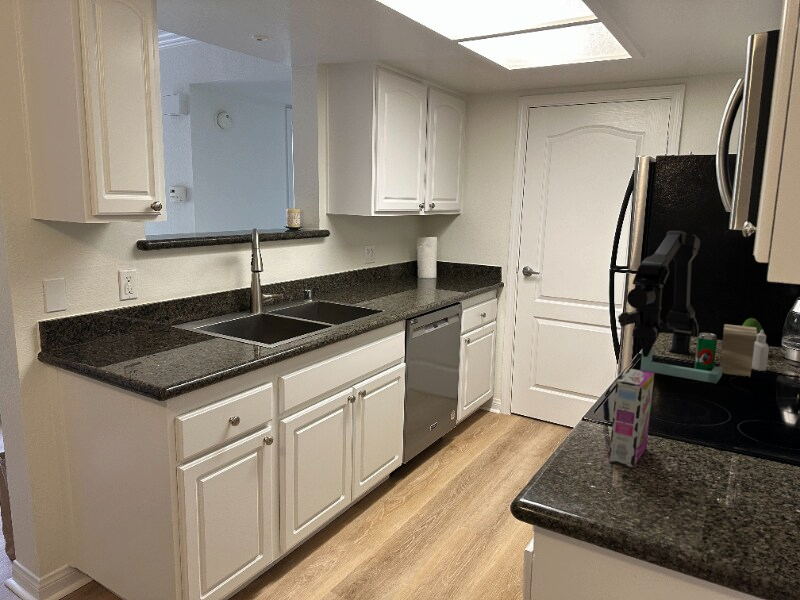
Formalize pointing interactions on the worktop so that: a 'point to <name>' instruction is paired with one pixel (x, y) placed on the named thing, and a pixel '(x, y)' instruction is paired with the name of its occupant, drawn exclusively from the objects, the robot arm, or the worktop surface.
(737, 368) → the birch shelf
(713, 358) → the soda can
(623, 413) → the candy bar box
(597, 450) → the worktop surface
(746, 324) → the avocado
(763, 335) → the eye dropper bottle
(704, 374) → the crook tool
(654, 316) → the robot arm
